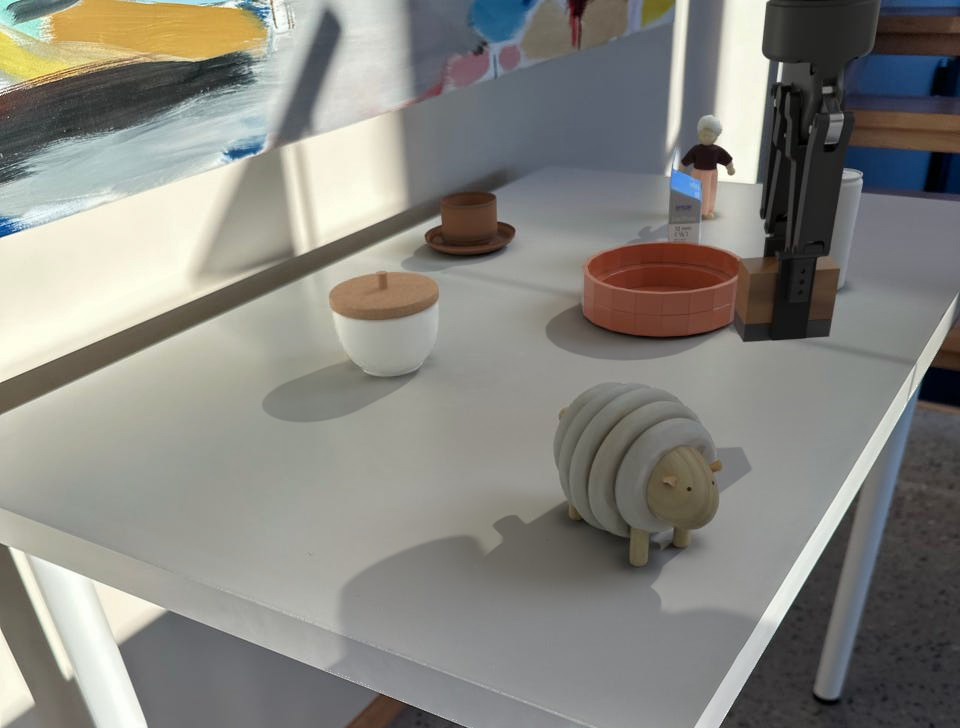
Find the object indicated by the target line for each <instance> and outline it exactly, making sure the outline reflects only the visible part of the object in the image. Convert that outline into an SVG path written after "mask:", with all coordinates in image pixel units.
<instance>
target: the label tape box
mask: <svg viewBox="0 0 960 728" xmlns="http://www.w3.org/2000/svg"><path fill="white" fill-rule="evenodd" d="M677 149H678V146H675V147H674V150H673V155H672V162H671V170H670V178H669V196H668V199H669V200H668V222H667V223H668V225H667V241H669V242H690V243H697V244H701V236H702V235H701V233H702V218H701V213H702V183H701V181H699V180H696V179H694V178H692V177H690V175H688V174H686V173H685V172H684V173H682V172H679V171H677V170H678V169H675V168H674V165H675V160H676V153H677Z"/></svg>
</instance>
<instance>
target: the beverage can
mask: <svg viewBox="0 0 960 728" xmlns="http://www.w3.org/2000/svg"><path fill="white" fill-rule="evenodd" d="M863 175H864V173H863V171H860V170H858V169H853V168H846V167H844V170H843V176H842V181H841V187H840V193H839V199H838V205H837V211H836V217H835V223H834V229H833V235H832V241H831V249H830V252H829V255H828V256H829V257H830V258H831V259H832V260H833V261H834V262H835V263H836V264H837V265H838V266H839V268H840V275H839V281H838V287H837V291H839V290H841V289H842V288H843V286H844V285H845V280H846V273H847V268H848V263H849V257H850V252H851V246H852V241H853V237H854V236H853V235H854V231H855V225H856V221H857V215H858V212H859V211H858V210H859V205H860V201H861V200H860V199H861V195H862V189H863V183H864V181H863V178H862V177H863Z"/></svg>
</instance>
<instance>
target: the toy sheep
mask: <svg viewBox="0 0 960 728" xmlns="http://www.w3.org/2000/svg"><path fill="white" fill-rule="evenodd" d="M558 421H559V422H558V425H557V427H556V431H555V434H554V439H553V458H554V463H555V466H556V469H557V471H558V479H559V483H560V486H561V489H562V492H563V494H564V496H565V498H566V499H567V501H568V516H569V518H570V519H571V520H573V521H581V520H584V521H585V522H586V523H588V524H589V525H590V526H592V527H595V528H597V529H599V530H602V531H607V532H609V533H611V534H612V535H615V536H617V537H621V538H622V537H623V538H628V539H629V538H630V539H629V563H630V564H631V565H632V566H634V567H637V568H639V567H644V566H645V565H646V564H647V563H648V559H649V543H650V542H649V541H650V539H649V538H650V534H653V533H661V532H665V531H670V530H671V529H673V532H672V544H673V545H674V547H677V548H681V549H682V548H686V547H689V545H690V544H691V539H692V538H691V537H692V531H693V530H699V529H703V527H704V528H705V526H707V525H708V524H709V523H710V522H712V520H713V519H714V518H715V516H716V514H717V512H718V509H719V505H720V491H719V487H718V483H717V479H716V477H715V476H716V473H717V472H720V471H722V469H723V461H722V460H718V459H717V456H718V455H717V448H716V444H715V441H714V439H713V437H712V435H711V433H710V432H709V431H708V430H707V428H706V427H705V426H704V425H703V423H702V421H701V420H700V418H699V417H698V416H697V414H696V413H695V411H693V410H692V409H691V408H689V407H688V406H686V405H685V404H684V403H683V402H682V401H681V399H680V398H679V397H677V396H676V395H674V394H673V393H671V392H668V391H667V390H665V389H664V390H663V389H661V388H656V387H651V386H649V385H647V384H644V383H639V382H628V383H627V382H626V383H622V382H615V381H611V382H602V383H599V384H596V385H594V386H592V387H589V388H587V389H586V390H584V391H583V392H582V393H580V394H579V395H578V396H577V397H576V398H574V400H572V402H571V403H570V404H569V405H568V406H567V407H564V408H562V409H561V410H560V411H559V414H558Z"/></svg>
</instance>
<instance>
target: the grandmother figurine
mask: <svg viewBox="0 0 960 728" xmlns="http://www.w3.org/2000/svg"><path fill="white" fill-rule="evenodd" d="M721 123H722V122H721V121H720V120H719V119H718V117H716V116H714V115H713V114H707V115H703V116H702V117H700V118H699V120H698V122H697V126H696V130H697V132H696V134H697V137H698V141H699V142H700V143H699V144H694V145H693V146H692V147H691V148H690V149H689V150H688V151H687V152H686V153H685V155H684V156H683V158H682V159H681V161H680V164H679V166H678V169H676V170H677V171H679V172H682V173H684V174H685V171H687V168H688V167H689V166H691V165H693V166H692V169H691V171H690V175H689V176H690V177H692V178H694V179H696V180H699V181H701V183H702V213H701V220H711V219H714V218H715V215H714V213H713V211H714V209H715V205H716V198H717V191H718V181H719V180H718V179H719V177H718V176H719V171H718V165H720V166H723V167H725V169H726V172H727V175H728V176H730V177H731V176H734V175H735V174H736V169H735V167H734V162H733V160H734V158H733V156H732V155H731V154H730V153H729V152H728V151H727V150H726V149H725V148H723V147H722V146H720V145H718V144H714V143H716V142H717V140H718V138H719V136H721V134H722V133H723V125H722V124H721Z"/></svg>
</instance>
